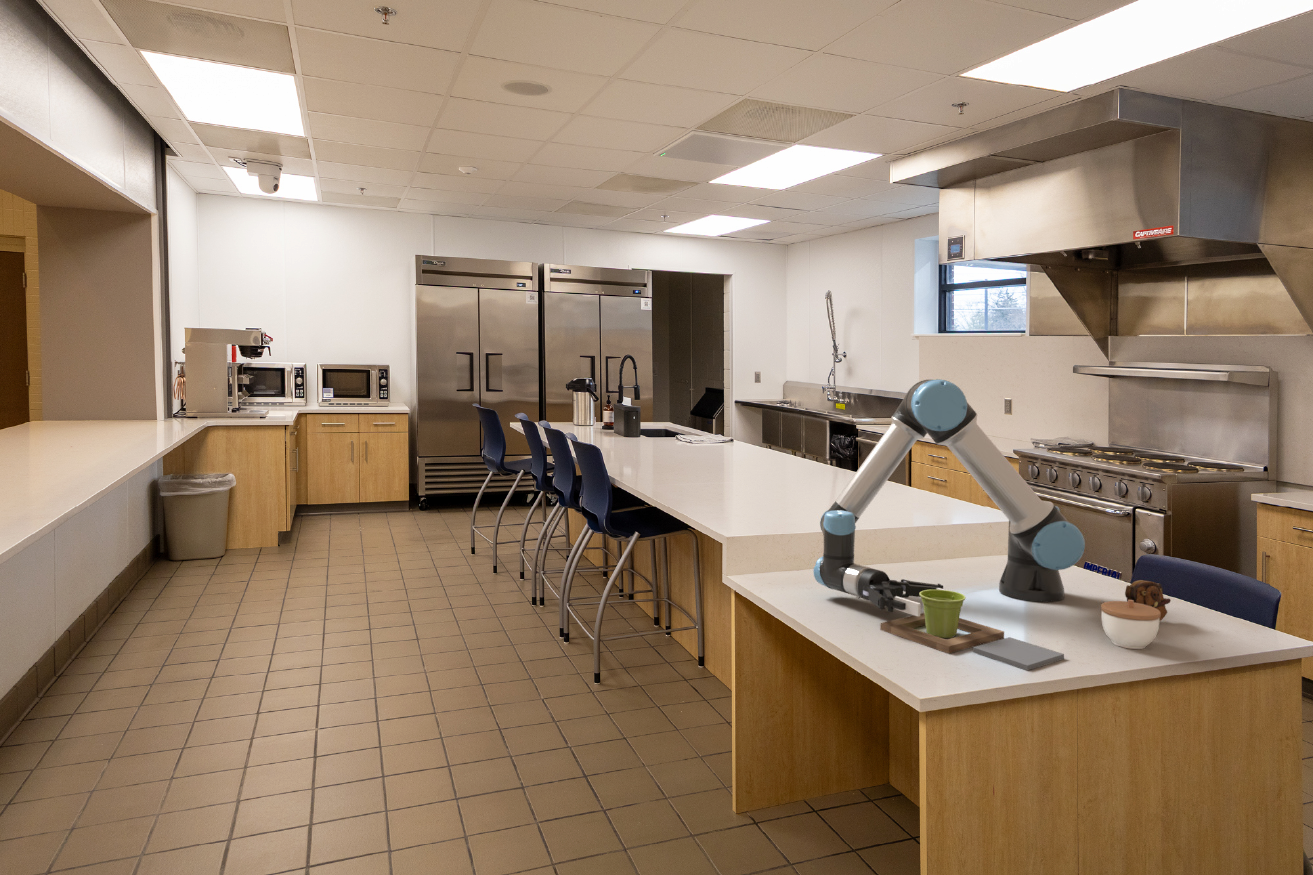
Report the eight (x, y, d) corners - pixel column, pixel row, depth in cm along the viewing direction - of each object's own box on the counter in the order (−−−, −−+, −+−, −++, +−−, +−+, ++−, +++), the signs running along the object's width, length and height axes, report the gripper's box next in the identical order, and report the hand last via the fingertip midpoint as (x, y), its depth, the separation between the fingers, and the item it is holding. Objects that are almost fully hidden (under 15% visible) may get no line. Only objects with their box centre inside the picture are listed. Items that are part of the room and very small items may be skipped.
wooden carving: (1135, 634, 176) (1137, 589, 175) (1114, 628, 180) (1116, 584, 179) (1174, 622, 185) (1176, 579, 184) (1152, 617, 189) (1155, 574, 188)
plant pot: (911, 627, 180) (912, 589, 180) (952, 626, 181) (953, 588, 180) (929, 641, 171) (930, 601, 170) (972, 640, 172) (973, 600, 171)
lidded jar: (1170, 653, 164) (1172, 607, 164) (1117, 652, 165) (1119, 607, 164) (1139, 636, 175) (1141, 593, 174) (1089, 635, 175) (1091, 593, 174)
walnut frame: (934, 616, 188) (934, 610, 188) (1004, 638, 173) (1004, 631, 173) (880, 629, 179) (880, 622, 179) (948, 653, 164) (948, 646, 164)
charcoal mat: (1009, 641, 171) (1009, 637, 171) (1063, 658, 161) (1064, 653, 161) (972, 652, 165) (973, 647, 165) (1027, 670, 155) (1027, 665, 154)
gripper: (903, 591, 200) (977, 613, 182) (828, 606, 187) (900, 631, 169) (904, 561, 200) (978, 580, 182) (829, 574, 186) (901, 596, 168)
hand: (941, 605), depth 175 cm, fingers open, 13 cm apart
